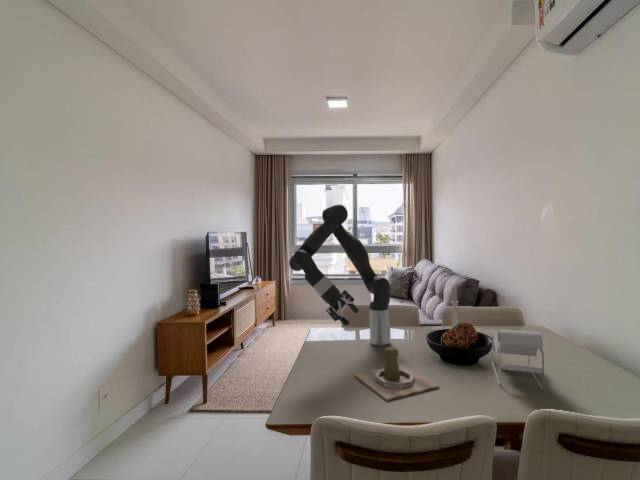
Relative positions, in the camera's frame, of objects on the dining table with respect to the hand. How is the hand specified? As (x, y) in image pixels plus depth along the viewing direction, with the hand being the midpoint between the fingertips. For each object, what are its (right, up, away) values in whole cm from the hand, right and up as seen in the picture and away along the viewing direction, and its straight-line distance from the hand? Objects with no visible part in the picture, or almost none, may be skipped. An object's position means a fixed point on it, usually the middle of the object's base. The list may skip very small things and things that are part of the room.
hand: (352, 318), depth 139 cm
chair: (+60, -19, -12) cm, 65 cm away
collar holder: (+14, -20, -15) cm, 29 cm away
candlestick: (+49, -19, +17) cm, 55 cm away
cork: (+13, -19, -13) cm, 27 cm away
